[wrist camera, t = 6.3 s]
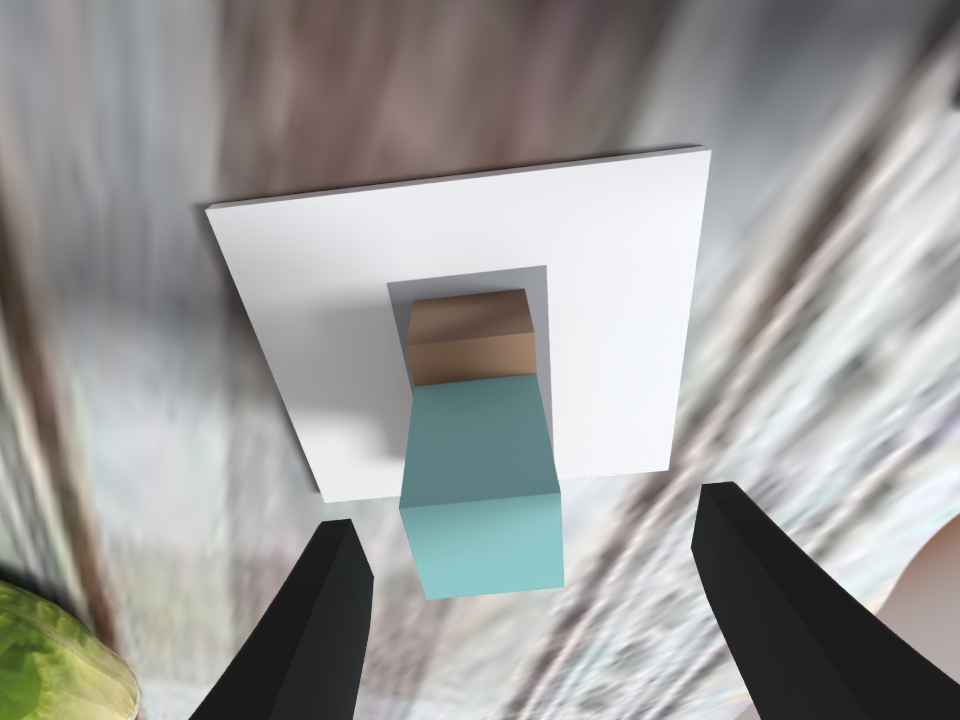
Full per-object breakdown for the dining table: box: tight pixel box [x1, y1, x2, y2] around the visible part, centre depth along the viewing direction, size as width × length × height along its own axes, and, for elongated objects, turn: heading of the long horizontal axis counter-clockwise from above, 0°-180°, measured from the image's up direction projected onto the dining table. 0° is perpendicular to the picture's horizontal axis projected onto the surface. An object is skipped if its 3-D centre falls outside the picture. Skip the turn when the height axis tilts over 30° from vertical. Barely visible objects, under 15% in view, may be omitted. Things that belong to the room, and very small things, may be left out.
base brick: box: [406, 289, 537, 387], centre depth 19 cm, size 4×8×3 cm, turn 6°
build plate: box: [205, 146, 711, 503], centre depth 20 cm, size 16×14×1 cm
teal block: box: [399, 374, 564, 600], centre depth 16 cm, size 4×4×5 cm
